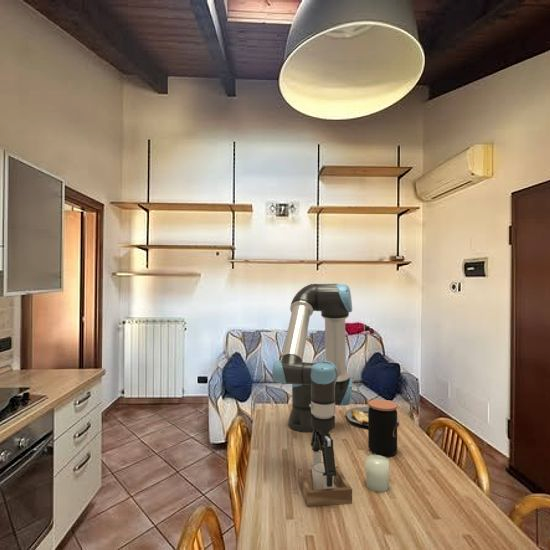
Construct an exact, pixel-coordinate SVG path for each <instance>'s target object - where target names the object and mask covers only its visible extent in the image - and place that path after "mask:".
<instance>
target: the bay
mask: <svg viewBox="0 0 550 550" xmlns="http://www.w3.org/2000/svg"><path fill="white" fill-rule="evenodd" d="M335 468H336V476H333V480H334V481H335V483H336V485H337V487H333V488H331V489H319V490H314V489H311V488H310V486H309V483H308V481H307V478H306V476H305V474H304V471H303V469H302V468H298V469H297V483H298V485H299V488H300V490H301V493H302V495H303V498H304V502H305V503H306V506H307V508H310V507H321V506H333V505H335V506H336V505H345V504H352V503H353V488H352V486H351V485H350V483H349V482H348V481H347V479H346V477H345V476H344V474H343V472H342V470H341V469H340V468H339V466H338V465H337V466H336V465H335Z"/></svg>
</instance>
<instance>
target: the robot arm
mask: <svg viewBox="0 0 550 550" xmlns="http://www.w3.org/2000/svg"><path fill="white" fill-rule="evenodd" d="M350 289H351V288H350V286H349V285H348V284H346V283H345V284H344V283H310V284H307V285H306V286H305V285H304V287H302V288H301V289H300V290H298V292H297V293H295V295H294V296H293V298H292V301H291V302H290V306H289V307H290V308H289V310H290V312H291V314H290V319H289V323H288V329H287V334H286V336H285V337H286V338H285V342H284V346H283V351H282V356H281V360H275V361H274V362H273V365H272V373H271V374H272V380H273V381H274V382H275V383H279V384H285V385H291V390H292V391H291V392H292V393H291V396H292V397H291V399H292V400H291V402H292V404H291V405H292V407H291V410H290V413H289V416H288V420H287V424H288V427H289V428H290V429H291V430H294V431H296V432H303V433H308V432H310V433H311V432H312V434H311V440H310V441H311V443H310V447H311V449H312V465H313V464H315V463H318V462H322V461H323V463H324V469H325V473H323V476H324V489H331V488H334V476H336V468H335V467H336V461H335V460H336V459H335V453H334V439H333V438H332V437H331V434H330V431H333V430H334V429H335V426H336V421H335V420H336V417H335V414H336V406H339V407H341V406H345V407H346V406H348V405H349V404H350V403H351V398H352V392H353V391H352V389H353V383H354V382H353V378H351V377H350V374H349V373H348V372H347V371H346V363H347V361H346V319H347V318H348V317H349V316H350V313H351V312H353V302H352V295H351V290H350ZM313 312H320V316H321V318H323V320H324V339H325V340H324V341H325V344H324V345H325V346H324V347H325V348H324V349H325V350H324V351H325V360H324V361H322V362H304V361H303V360H304V355H305V348H306V343H307V342H306V341H307V336H308V330H309V323H310V319H311V318H310V317H312V315H313Z"/></svg>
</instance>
